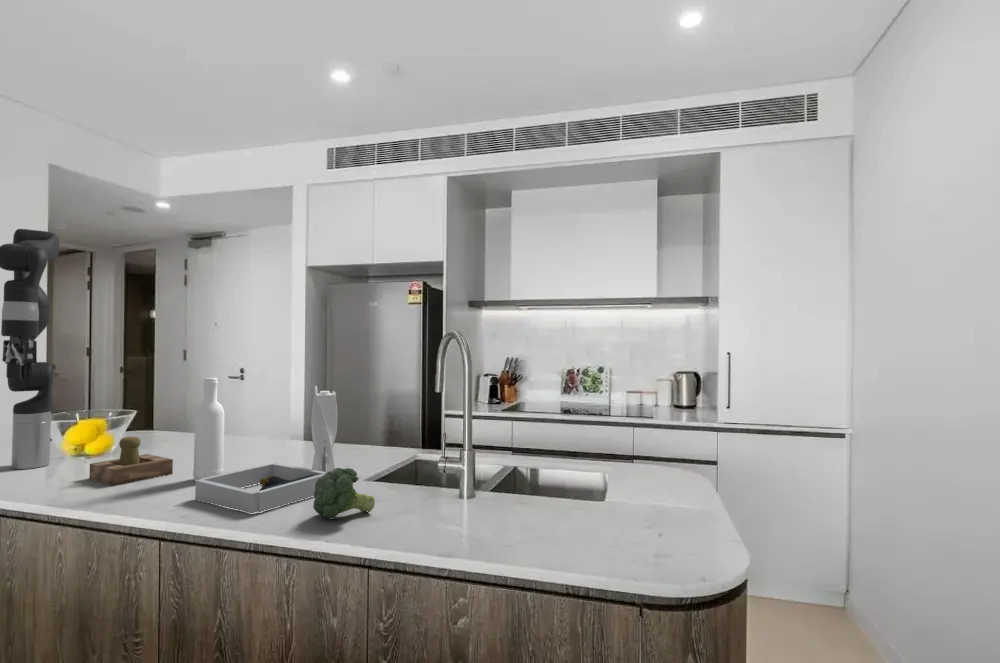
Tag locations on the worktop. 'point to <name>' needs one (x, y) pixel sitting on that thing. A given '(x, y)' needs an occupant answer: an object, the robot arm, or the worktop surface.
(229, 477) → the tray rim
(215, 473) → the bottle
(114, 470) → the socket block
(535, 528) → the worktop surface
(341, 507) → the vegetable
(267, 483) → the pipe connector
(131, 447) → the cork
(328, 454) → the skyscraper
